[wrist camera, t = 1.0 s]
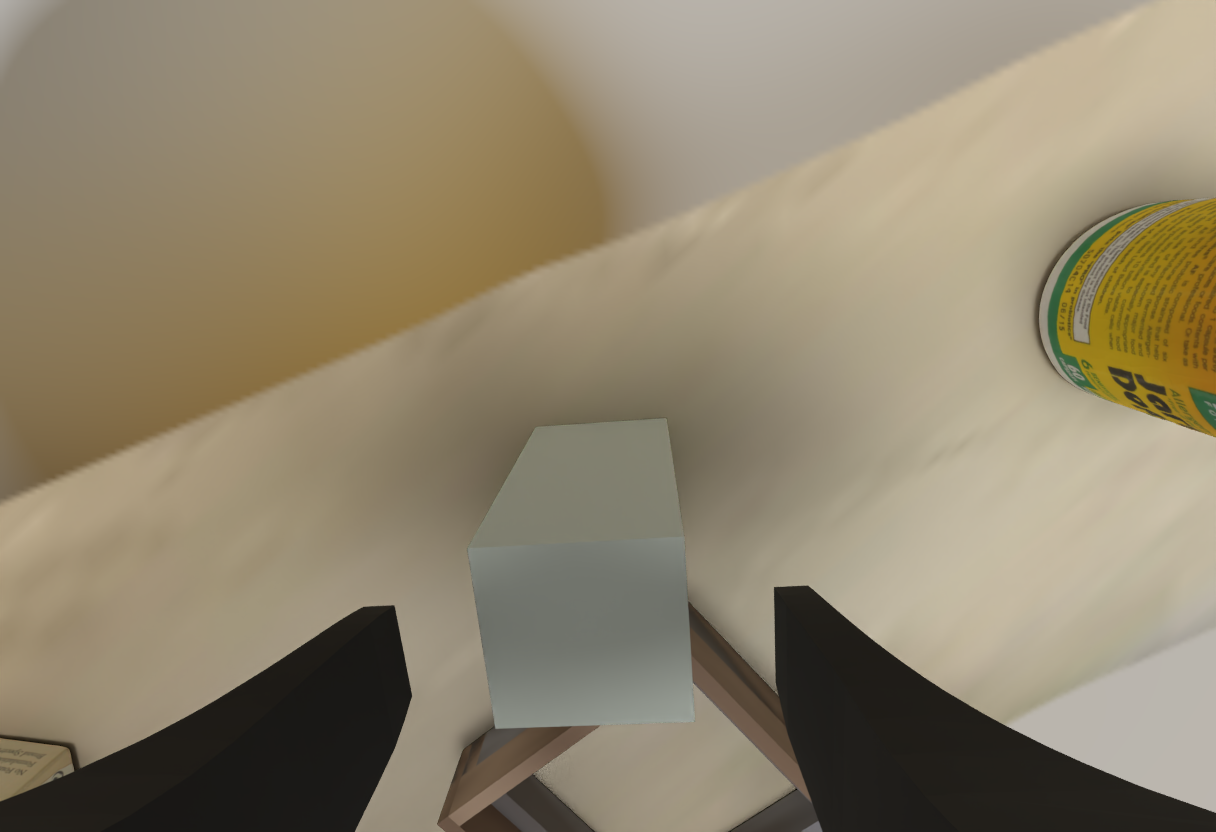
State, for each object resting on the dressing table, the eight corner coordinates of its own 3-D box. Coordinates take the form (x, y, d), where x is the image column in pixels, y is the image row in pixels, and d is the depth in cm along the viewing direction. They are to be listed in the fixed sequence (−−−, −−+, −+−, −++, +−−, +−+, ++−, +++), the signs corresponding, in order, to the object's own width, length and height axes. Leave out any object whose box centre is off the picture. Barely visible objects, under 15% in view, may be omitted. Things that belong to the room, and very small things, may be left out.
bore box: (645, 916, 24) (646, 1006, 22) (462, 750, 23) (436, 824, 20) (861, 784, 22) (894, 864, 19) (676, 589, 21) (682, 646, 18)
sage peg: (550, 545, 20) (495, 728, 13) (535, 426, 19) (466, 548, 12) (674, 538, 20) (694, 721, 13) (666, 417, 19) (684, 536, 11)
